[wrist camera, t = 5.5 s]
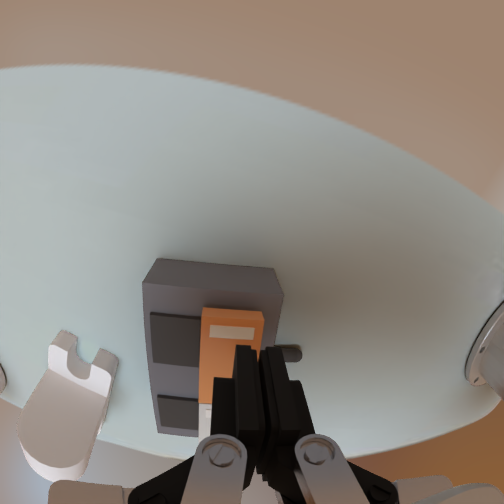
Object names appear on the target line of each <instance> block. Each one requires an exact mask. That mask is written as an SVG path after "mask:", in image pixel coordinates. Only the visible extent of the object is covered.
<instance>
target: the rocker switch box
mask: <svg viewBox="0 0 504 504" xmlns="http://www.w3.org/2000/svg"><path fill="white" fill-rule="evenodd" d="M142 289H143V311H144V327H145V340H146V351H147V361H148V370H149V378H150V386H151V393H152V400H153V407H154V413H155V419H156V425H157V430H158V433H163V434H170V435H179V436H188V437H199V364H200V339H201V318H202V310H203V307H206V308H218V309H232V310H246V311H262V314H263V317H264V327H263V334H262V341H261V347H260V350H265V348H266V346H270V347H274V342H275V338H276V333H277V328H278V323H279V317H280V312H281V307H282V302H283V296H284V294H283V292H282V289H281V287H280V284H279V282H278V279H277V277H276V275H275V272H274V270H273V269H272V268H260V267H248V266H236V265H224V264H213V263H201V262H190V261H180V260H169V259H158V258H157V259H156V261H155V263H154V264H153V266H152V268H151V269H150V271H149V272H148V274H147V276H146V277H145V279H144V281H143V282H142ZM281 349H282V352H283V356H284V361H285V362H298V361H300V360H301V358H302V352H301V351H300V350H299V349H296V348H281Z"/></svg>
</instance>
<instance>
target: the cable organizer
mask: <svg viewBox="0 0 504 504" xmlns="http://www.w3.org/2000/svg"><path fill="white" fill-rule="evenodd" d="M77 338H78V337H77V336H75V335H73V334H71V333H69V332H67V331H64V330H62V331H60V333H59V334H58V335H57V336H56V338H55V339H54V340H53V342H52V343H51V344H50V346H49V354H48V369H47V371H46V372H45V374H44V376H43V377H42V379H41V380H40V382H39V383H38V385H37V387H36V388H35V390H34V392H33V393H32V395H31V396H30V398H29V400H28V401H27V403H26V405H25V407H24V408H23V410H22V412H21V414H20V416H19V418H18V421H17V433H18V437H19V441H20V444H21V447H22V449H23V452H24V455H25V458H26V460H27V461H28V463H29V465H30V466H31V467H32V468H33V469H34V471H35V472H36V473H38V474H39V475H40V476H42V477H43V478H45V479H47V480H50V481H52V482H56V481H58V480H72V481H75V480H77V479H79V478H80V477H81V476H82V475H83V474H84V472H85V470H86V468H87V465H88V461H89V458H90V455H91V452H92V449H93V446H94V443H95V440H96V437H97V434H100V432H101V429H102V426H103V423H104V420H105V416H106V411H107V407H108V402H109V398H110V394H111V389H112V385H113V381H114V377H115V373H116V369H117V365H118V359H117V357H116V356H115V355H113V354H112V353H109V352H107V351H105V350H103V349H101V348H100V349H99V351H98V353H97V355H96V357H95V359H94V361H93V362H92V364H88V363H86V362H84V361H82V360H81V359H80V358H79V357H78V355H77V353H76V345H77Z"/></svg>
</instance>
